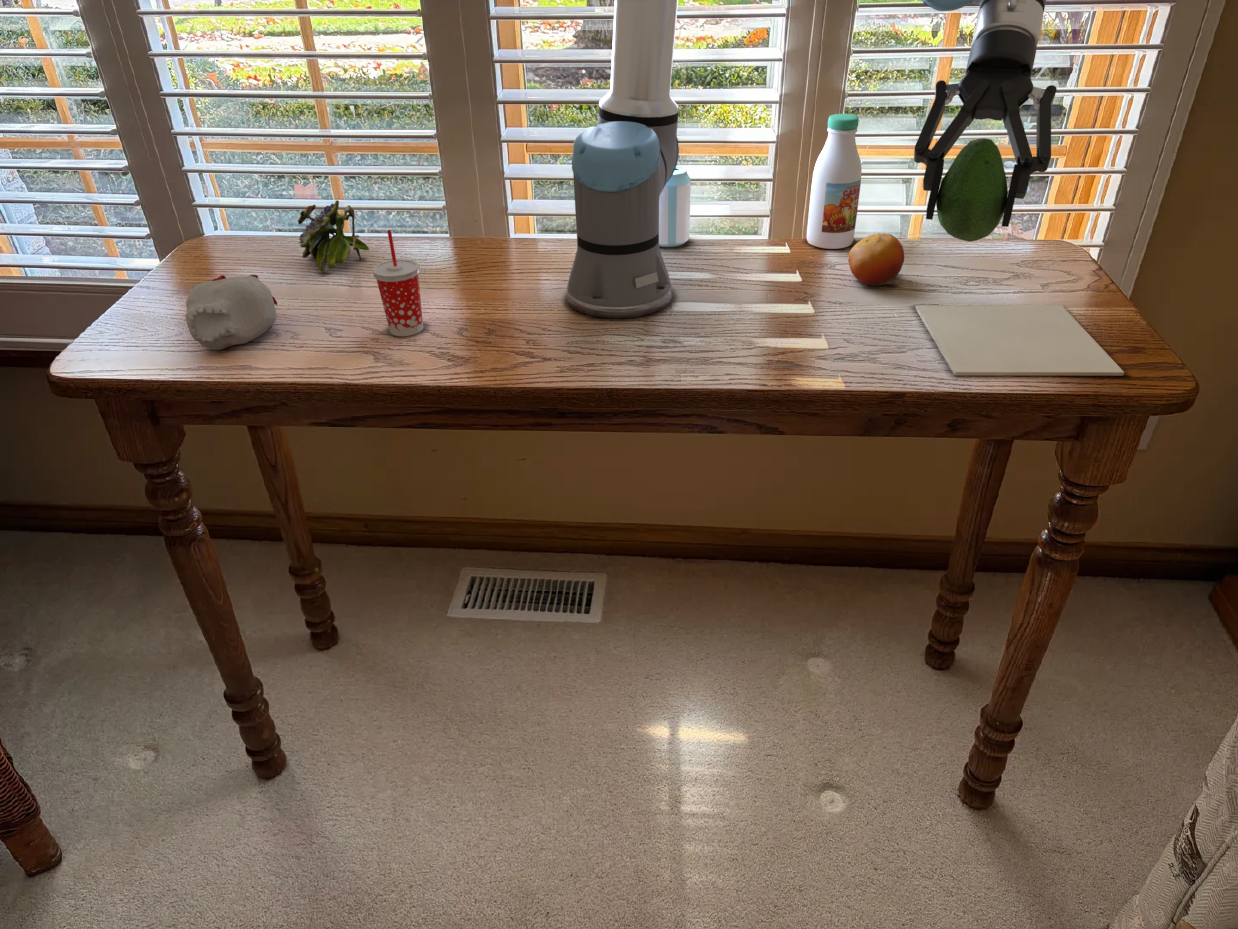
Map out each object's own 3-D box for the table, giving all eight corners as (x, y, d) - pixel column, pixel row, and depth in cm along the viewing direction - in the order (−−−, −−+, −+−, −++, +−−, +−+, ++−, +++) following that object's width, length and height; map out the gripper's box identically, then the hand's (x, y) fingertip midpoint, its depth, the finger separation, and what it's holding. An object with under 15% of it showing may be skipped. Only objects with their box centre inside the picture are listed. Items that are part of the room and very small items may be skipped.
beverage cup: (428, 336, 118) (412, 236, 110) (382, 340, 117) (363, 239, 109) (429, 317, 123) (413, 220, 115) (385, 321, 122) (366, 224, 114)
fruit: (917, 283, 125) (894, 235, 122) (865, 306, 129) (842, 261, 126) (912, 262, 132) (891, 217, 129) (863, 285, 135) (841, 241, 132)
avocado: (970, 225, 111) (990, 127, 104) (1011, 245, 105) (1035, 143, 98) (916, 233, 109) (933, 134, 102) (955, 254, 103) (975, 150, 96)
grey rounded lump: (198, 363, 111) (199, 331, 124) (288, 345, 115) (281, 316, 127) (175, 295, 107) (179, 269, 120) (270, 279, 111) (264, 255, 123)
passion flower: (324, 289, 146) (312, 220, 147) (385, 276, 145) (372, 206, 146) (292, 274, 135) (279, 199, 135) (357, 260, 134) (344, 185, 134)
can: (645, 235, 149) (645, 164, 142) (686, 233, 150) (687, 162, 143) (650, 249, 143) (649, 176, 137) (692, 247, 144) (693, 174, 137)
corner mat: (954, 375, 105) (955, 372, 105) (915, 308, 122) (915, 305, 121) (1123, 375, 104) (1124, 372, 104) (1060, 307, 120) (1061, 304, 120)
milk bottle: (801, 247, 143) (813, 120, 132) (811, 232, 149) (823, 109, 137) (848, 252, 140) (865, 123, 129) (856, 236, 146) (873, 112, 135)
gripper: (916, 23, 105) (877, 193, 102) (1105, 27, 98) (1069, 210, 95) (915, 63, 112) (878, 223, 109) (1090, 69, 105) (1057, 241, 102)
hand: (967, 217), depth 102 cm, fingers closed on avocado, 8 cm apart
